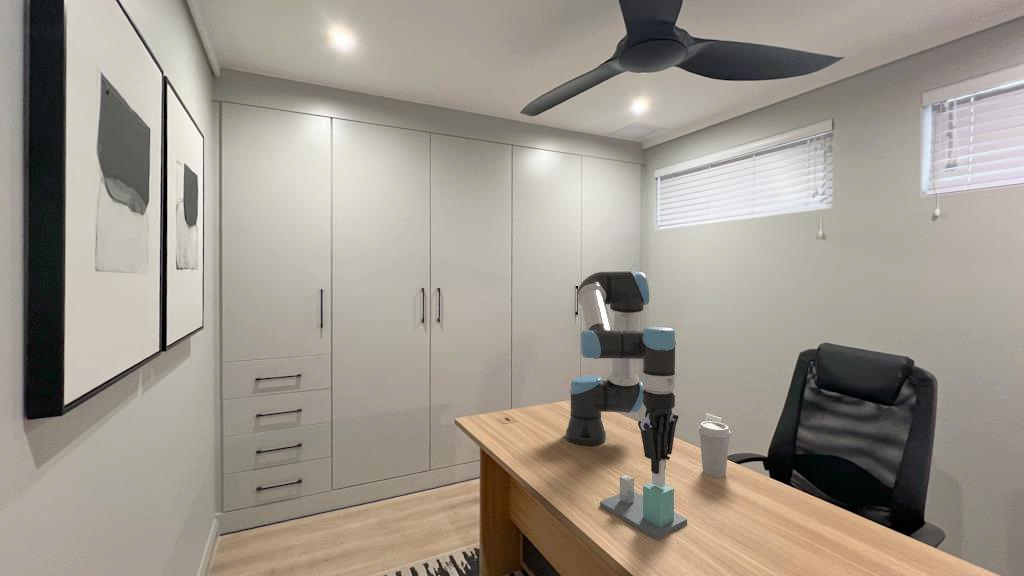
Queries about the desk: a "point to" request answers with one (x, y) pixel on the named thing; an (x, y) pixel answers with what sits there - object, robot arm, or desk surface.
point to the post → (627, 489)
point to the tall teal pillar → (658, 504)
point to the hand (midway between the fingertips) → (658, 484)
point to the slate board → (640, 516)
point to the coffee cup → (714, 447)
